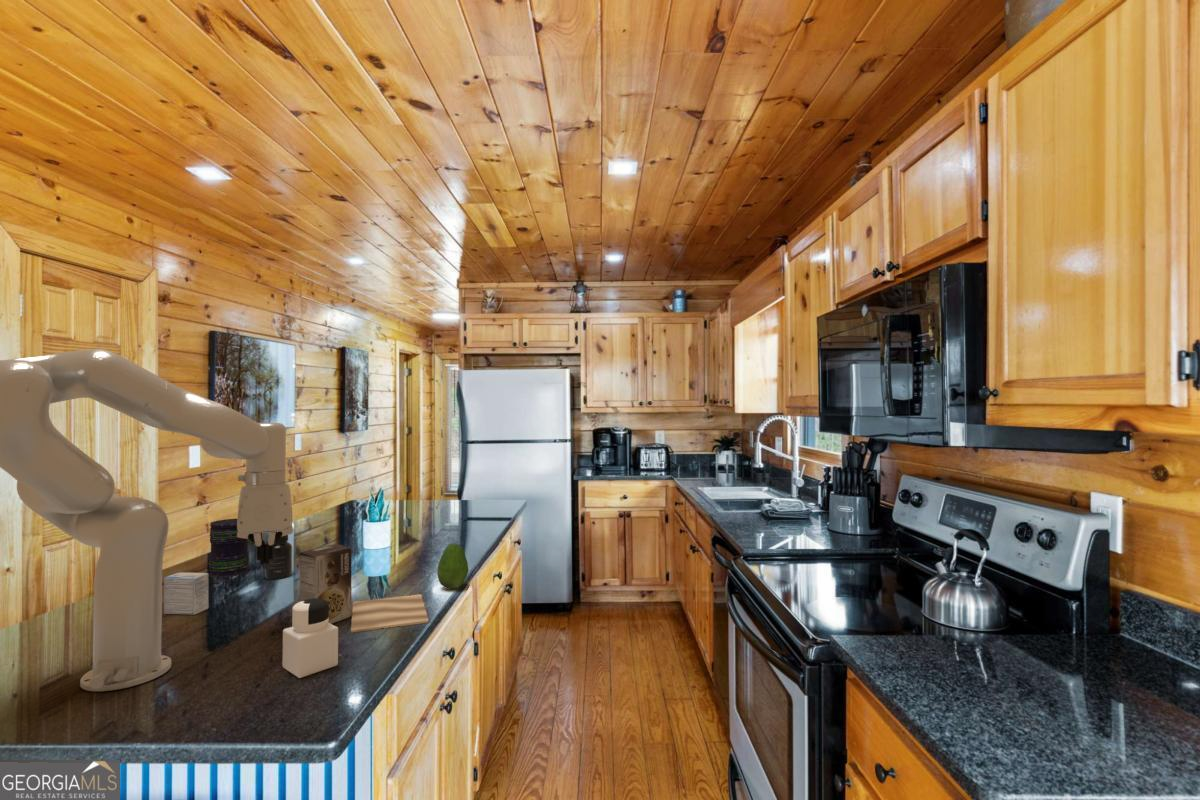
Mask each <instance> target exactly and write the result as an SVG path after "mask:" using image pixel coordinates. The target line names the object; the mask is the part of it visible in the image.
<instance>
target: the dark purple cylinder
mask: <svg viewBox="0 0 1200 800" xmlns="http://www.w3.org/2000/svg"><path fill="white" fill-rule="evenodd" d="M209 525H210V526H209V527H210V529H209V531H210V532H209V542H210V556H209V562H208V563H209V564H208V566H209V577H212V578H229V577H235V576H239V575H242V574H246V573H248V572H249V563H250V557H249V555H250V553H249V552H250V551H248V550H249V548H248V546H249V545H248V544H249V541H248V540H249V539H244V538H238V537H237V533H238V529H237V518H228V519H226V518H225V519H219V520H214V521H212V522H210V523H209Z"/></svg>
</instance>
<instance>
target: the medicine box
mask: <svg viewBox="0 0 1200 800" xmlns="http://www.w3.org/2000/svg"><path fill="white" fill-rule="evenodd" d="M163 585H164V586H163V588H164V589H163V614H164V615H165V614H167V615H192V616H193V615H197V614H199V613H200V614H201V613H202V612H204V611H207V610H208V609H209V573H208V572H176V573H174V574H170V575H167V576H166V577H164V579H163Z"/></svg>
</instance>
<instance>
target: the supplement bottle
mask: <svg viewBox="0 0 1200 800" xmlns="http://www.w3.org/2000/svg"><path fill="white" fill-rule="evenodd" d="M288 541H289V535H285V536H282V537H280V538H279V539H278V540H277V541H276V542H275V543H274V558H273V559H271V561H270V563H269V564H265V563H264V577H265V578H266V579H267V580H280V579H286V578H288V577H290V576H292V574H293V545H292V544H291V543H290V542H288Z"/></svg>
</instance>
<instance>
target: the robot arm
mask: <svg viewBox="0 0 1200 800" xmlns="http://www.w3.org/2000/svg"><path fill="white" fill-rule="evenodd" d="M88 398H89V399H91V400H94V401H96V402H98V403H99V404H103V405H104V406H106V407H109V408H111V409H114V410H115V411H117V412H120V413H122V414H123V415H125V416H128V417H130V418H132V419H134V420H136V421H138V422H141V423H143V424H144V425H147V426H149V427H152V428H155V429H159V430H162V431H167V432H171V433H176V434H182V435H188V436H191V437H195V438H199V439H200V446H201V448H202V449H203V451H204V452H205V453H206V454H208V455H209V456H211V457H215V458H218V459H228V460H233V459H234V460H235V459H236V460H245V463H246V464H245V473H242V474H238V477H237V480H238V481H240V482H244V484H245V485H243V486H241V488H240V493H239V498H238V506H237V517H236V519H237V529H238V533H237V537H238V538H244V539H248V540H249V541H251V542H252V543H253V544H254V545H255V546H256V550H257V551H256V559H257V560H256V561H259V564H260V565H265V564H269V563H270V561H271V559H273V558H274V543H275V542H276V541H277V540H278V539H279V538H280V537H282V536H285V535H288V536H289V535H291V534H293V532H294V528H293V503H292V494H291V488H290V485H289V483H286V473H287V471H286V468H287V467H286V464H287V463H286V461H287V460H286V457H287V456H286V449H287V448H286V444H287V442H286V441H287V436H286V435H287V431H286V426H285V425H284V424H283V423H280V422H257V421H256V420H254V419H251V418H250V417H248V416H246V415H245V414H243V413H241V412H239V411H237V410H235V409H233V408H231V407H229V406H227V405H225V404H222V403H219V402H217V401H214V400H211V399H208V398H206V397H205V396H202V395H200V394H197V393H194V392H192V391H189V390H186V389H184V388H181V387H179V386H178V385H176V384H173V383H171V382H170V381H168V380H167V379H164V378H162V377H161V376H158V375H157V374H155V373H153V372H151V371H150V370H147V369H146V368H143V367H142V366H140V365H139V364H136V363H135V362H133V361H131V360H129V359H127V358H125V357H124V356H122V355H120V354H119V353H118V354H117V353H115V352H113V351H110V350H106V349H103V348H95V349H94V348H92V349H81V350H79V349H78V350H71V351H64V352H58V353H52V354H47V355H45V354H44V355H36V356H29V357H28V356H27V357H19V358H11V359H4V360H3V359H1V360H0V469H2V470H3V471H5V472H6V473H7V474H8V475H10V476H11V477H12V478H13V479H14V480H16V492H17V494H18V496H19V498H20V500H21V501H22V502H23V504H25V506H26V507H28V508H29V509H30V510H31V511H33V512H34V513H35V514H37V515H38V516H41V517H42V518H43V519H44V520H46V521H47V522H49V523H51V524H52V525H54V526H55V527H56V528H58V529H59V530H60V531H63V532H64V533H65V534H67V535H68V536H70V537H71V538H73V539H74V540H75V541H78V542H80V543H82V544H84V545H87V546H88V547H89V546H90V547H94V548H98V549H100V553H99V555H98V559H97V562H96V565H95V566H96V567H95V570H94V578H93V622H92V623H93V628H92V629H93V631H92V632H93V633H92V634H93V635H92V636H93V637H92V638H93V639H92V669H91V670H89V671H88V672H86V673H84V674H83V676H81V678H80V682H79V687H80V688H81V689H83V690H84V691H88V692H109V691H116V690H122V689H127V688H131V687H134V686H138V685H142V684H144V683H147V682H150V681H152V680H155V679H157V678H159V677H160V676H162V675H164V674H166V673H167V672H168V671H170V669H171V667H172V658H171V657H169V656H167V655H163V654H162V621H163V619H162V614H163V610H162V609H163V608H162V607H163V563H164V553H165V549H166V543H167V539H168V534H169V518H168V515H167V513H166V512H165V511H164V509H163V507H161V506H160V505H159V504H157V502H156V503H155V502H154V501H152V500H149V499H145V498H140V497H133V496H124V495H123V496H121V495H119V494H117V493H115V489H116V486H115V485H116V483H115V480H114V478H113V476H112V474H111V473H110V472H109V470H107V469H106V468H105V467H104V466H103V465H102V464H100V463H99V462H97V461H95V460H94V459H93V458H92V457H90V456H89V455H88V454H86V453H85V452H84V451H83V450H81V449H80V447H78V446H77V445H75V444H74V443H73V442H71V441H70V440H69V439H67V438H66V436H65V435H64V434H62V432H60V431H59V430H58V429H57V428H56V427H55V425H54V424H53V422H52V420H51V417H50V405H51V404H55V403H60V402H65V401H70V400H75V399H88ZM263 533H269V534H268V538H267V539H268V540H267V541H266V542H265V540H264V536H263Z"/></svg>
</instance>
